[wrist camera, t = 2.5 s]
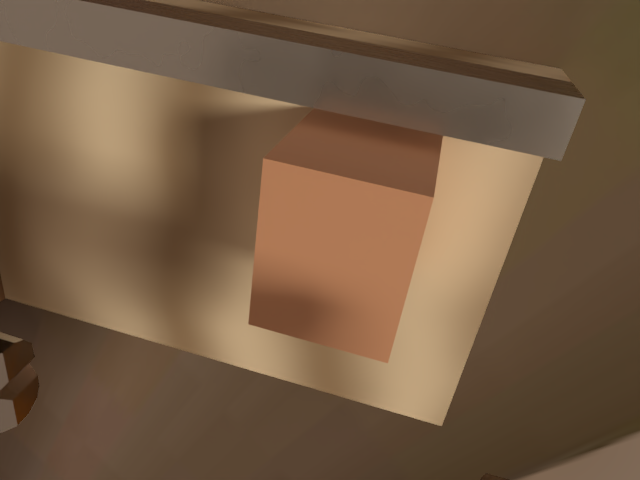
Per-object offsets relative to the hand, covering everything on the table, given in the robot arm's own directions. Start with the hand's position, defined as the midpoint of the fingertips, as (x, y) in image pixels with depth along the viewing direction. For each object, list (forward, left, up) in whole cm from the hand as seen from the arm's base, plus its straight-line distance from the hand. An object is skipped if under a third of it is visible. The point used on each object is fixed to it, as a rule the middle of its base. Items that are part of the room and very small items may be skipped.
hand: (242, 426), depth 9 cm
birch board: (+6, +2, -12) cm, 13 cm away
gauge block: (0, 0, -10) cm, 10 cm away
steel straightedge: (+6, -4, -10) cm, 12 cm away
